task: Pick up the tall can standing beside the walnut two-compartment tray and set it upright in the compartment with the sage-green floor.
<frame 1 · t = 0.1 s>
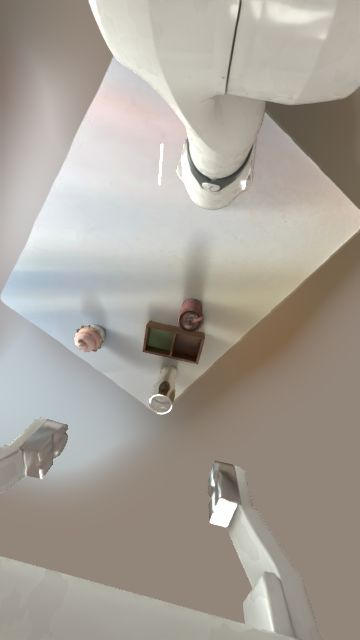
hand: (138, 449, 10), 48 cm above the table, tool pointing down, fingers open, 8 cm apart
tray: (174, 339, 60), on the table
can: (192, 307, 56), on the table
beer glass: (169, 372, 64), on the table
cupcake: (97, 333, 62), on the table
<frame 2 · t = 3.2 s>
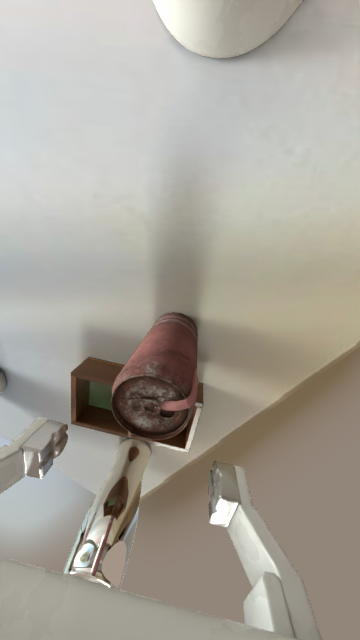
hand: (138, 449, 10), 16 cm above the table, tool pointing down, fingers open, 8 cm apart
tray: (141, 394, 29), on the table
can: (176, 331, 25), on the table
beer glass: (135, 449, 34), on the table
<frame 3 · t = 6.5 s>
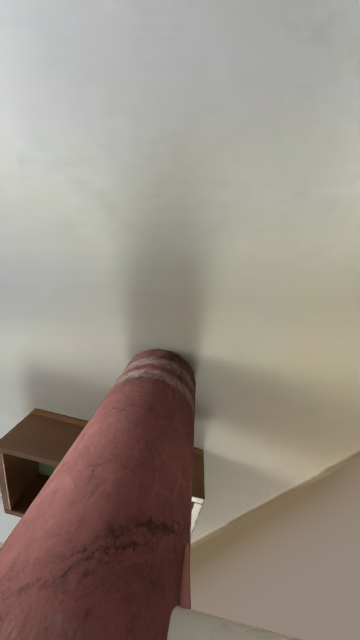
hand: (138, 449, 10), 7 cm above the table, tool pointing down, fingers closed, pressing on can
tray: (114, 460, 20), on the table
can: (163, 375, 16), on the table, touching gripper
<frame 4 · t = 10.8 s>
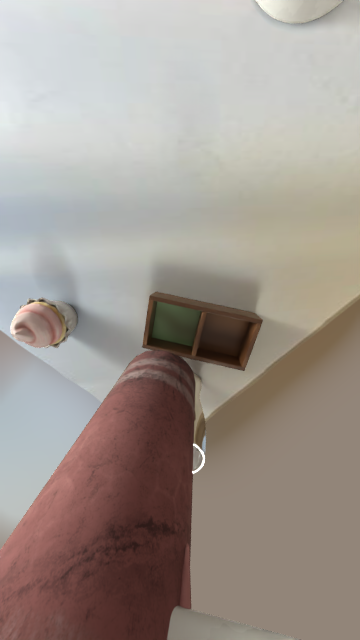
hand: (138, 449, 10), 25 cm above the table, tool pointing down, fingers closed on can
tray: (198, 326, 34), on the table
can: (163, 375, 16), point 18 cm above the table, touching gripper
beer glass: (187, 383, 38), on the table
cupcake: (64, 315, 36), on the table
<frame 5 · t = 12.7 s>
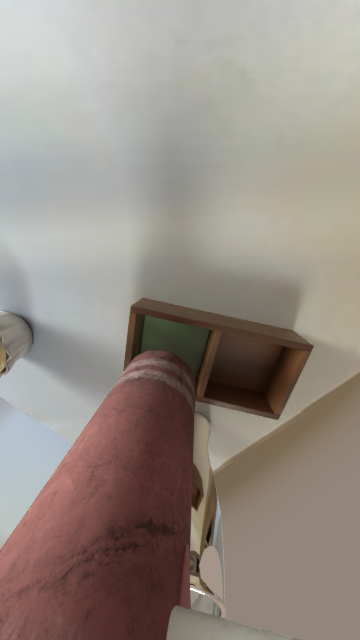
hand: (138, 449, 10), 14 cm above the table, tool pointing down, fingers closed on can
tray: (207, 348, 23), on the table
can: (162, 376, 16), point 7 cm above the table, touching gripper
beer glass: (189, 425, 27), on the table
cupcake: (14, 331, 25), on the table
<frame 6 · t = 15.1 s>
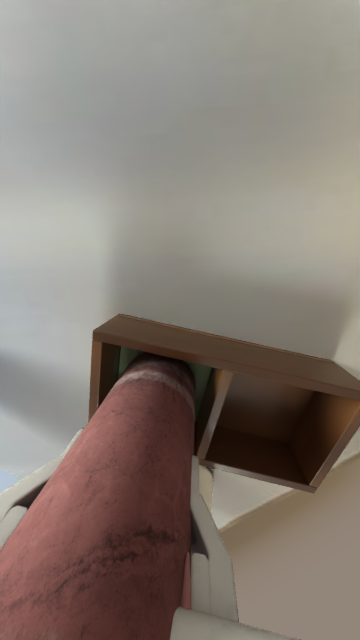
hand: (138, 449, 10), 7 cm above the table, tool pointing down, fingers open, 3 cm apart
tray: (210, 382, 17), on the table
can: (162, 377, 16), point 1 cm above the table, touching tray
beer glass: (186, 475, 21), on the table
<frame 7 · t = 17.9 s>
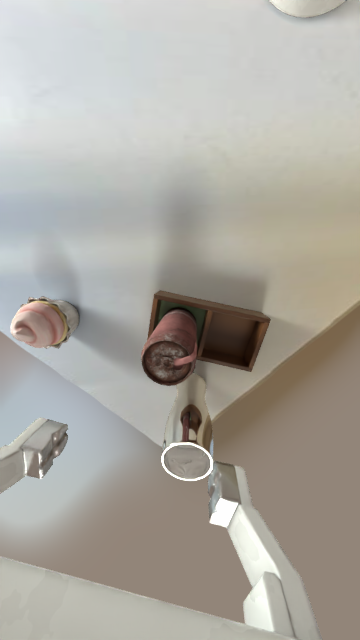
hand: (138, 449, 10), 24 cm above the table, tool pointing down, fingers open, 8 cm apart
tray: (203, 326, 33), on the table
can: (180, 322, 32), point 1 cm above the table, touching tray
beer glass: (191, 385, 37), on the table
cupcake: (65, 315, 35), on the table
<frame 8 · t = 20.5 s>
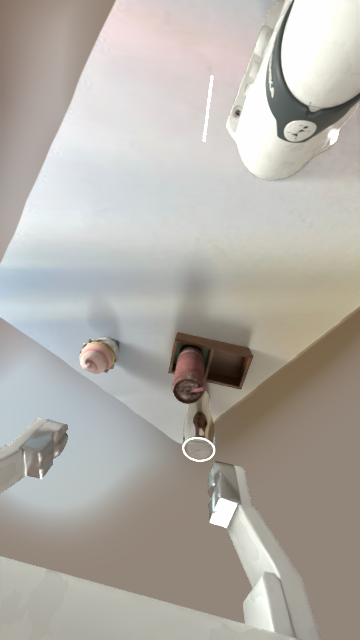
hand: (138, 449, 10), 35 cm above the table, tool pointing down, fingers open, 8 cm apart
tray: (208, 356, 47), on the table
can: (191, 354, 46), point 1 cm above the table, touching tray
beer glass: (198, 396, 51), on the table
cupcake: (108, 347, 49), on the table
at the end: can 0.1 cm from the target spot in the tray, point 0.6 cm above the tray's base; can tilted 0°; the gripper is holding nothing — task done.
